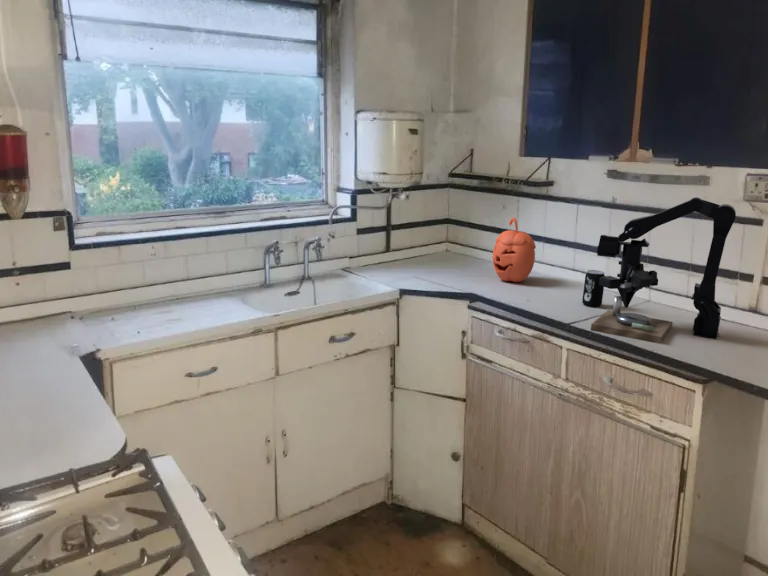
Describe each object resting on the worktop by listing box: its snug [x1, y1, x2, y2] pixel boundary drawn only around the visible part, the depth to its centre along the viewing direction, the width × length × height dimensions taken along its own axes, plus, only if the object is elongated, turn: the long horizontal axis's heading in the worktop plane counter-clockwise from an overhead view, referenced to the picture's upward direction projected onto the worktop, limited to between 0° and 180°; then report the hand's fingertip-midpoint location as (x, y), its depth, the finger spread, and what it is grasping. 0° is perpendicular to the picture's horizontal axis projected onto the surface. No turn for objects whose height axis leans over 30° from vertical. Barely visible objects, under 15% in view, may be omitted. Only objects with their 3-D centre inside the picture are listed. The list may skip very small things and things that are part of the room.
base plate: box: [590, 310, 673, 344], centre depth 210 cm, size 20×20×4 cm
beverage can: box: [582, 269, 605, 308], centre depth 235 cm, size 7×7×12 cm
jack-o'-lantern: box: [491, 216, 537, 283], centre depth 266 cm, size 18×17×25 cm
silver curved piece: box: [612, 295, 651, 326], centre depth 211 cm, size 14×10×6 cm
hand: (625, 307), depth 217 cm, fingers closed
